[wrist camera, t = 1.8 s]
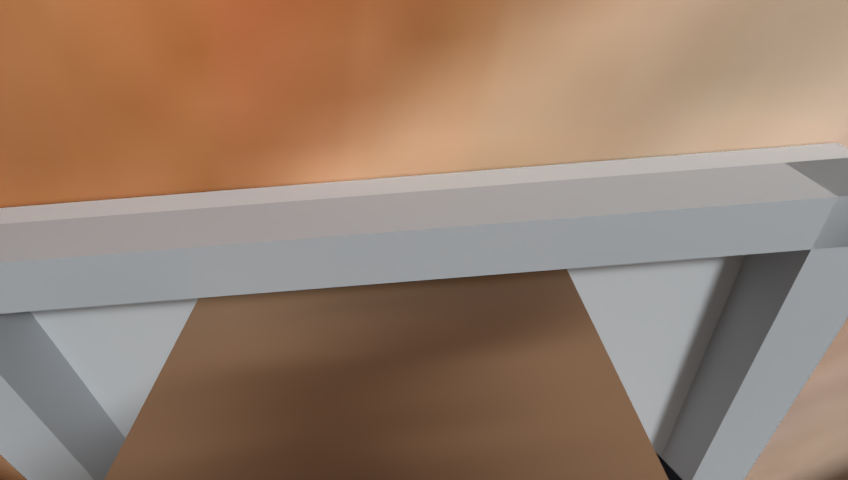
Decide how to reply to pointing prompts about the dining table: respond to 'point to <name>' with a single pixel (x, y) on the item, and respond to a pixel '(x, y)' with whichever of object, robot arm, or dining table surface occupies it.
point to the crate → (391, 388)
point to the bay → (439, 259)
